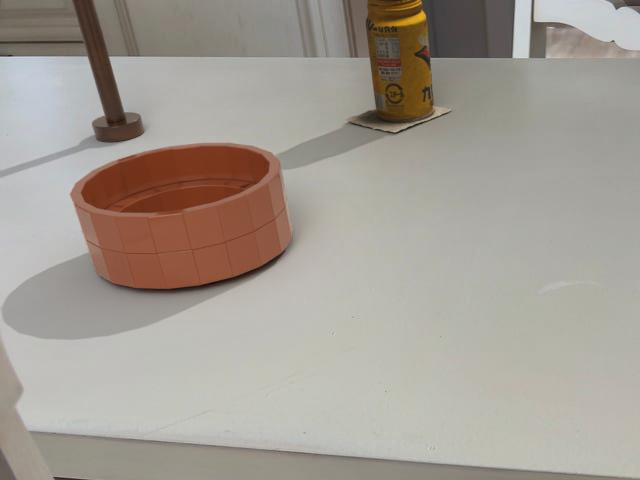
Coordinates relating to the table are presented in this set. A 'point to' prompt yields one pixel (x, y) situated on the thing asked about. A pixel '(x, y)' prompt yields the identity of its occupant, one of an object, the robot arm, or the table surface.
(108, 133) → the stick
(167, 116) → the table surface
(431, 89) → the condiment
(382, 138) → the table surface
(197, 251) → the bowl
